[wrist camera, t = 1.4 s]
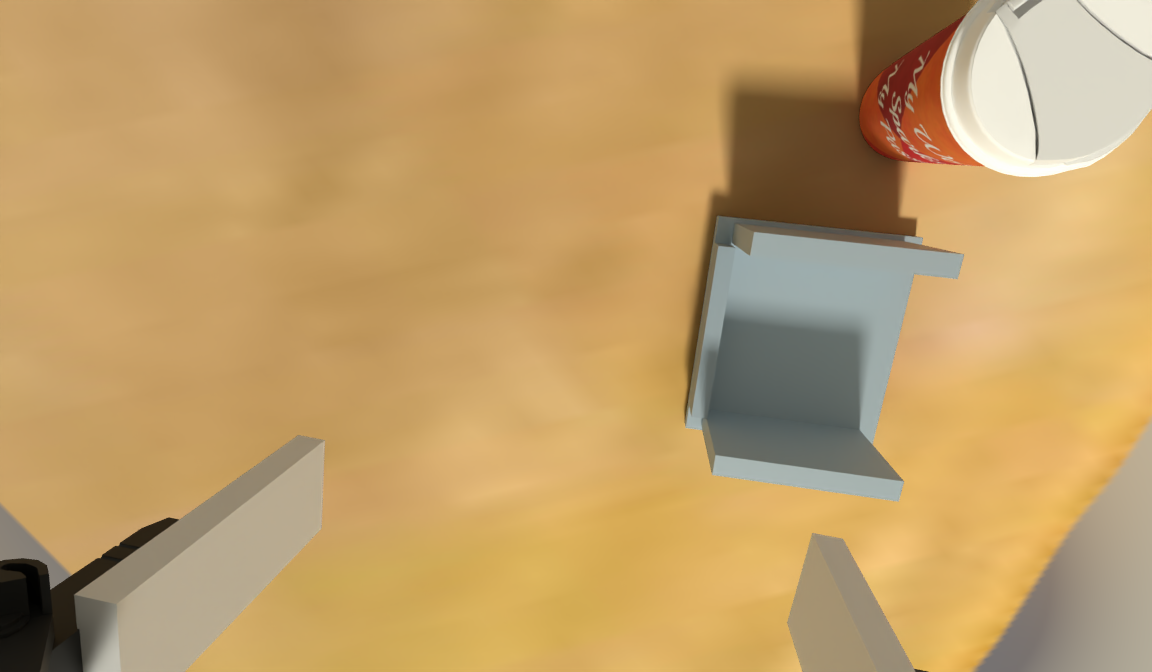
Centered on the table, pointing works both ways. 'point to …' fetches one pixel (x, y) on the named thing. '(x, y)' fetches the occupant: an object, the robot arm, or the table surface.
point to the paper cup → (1018, 87)
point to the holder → (803, 351)
